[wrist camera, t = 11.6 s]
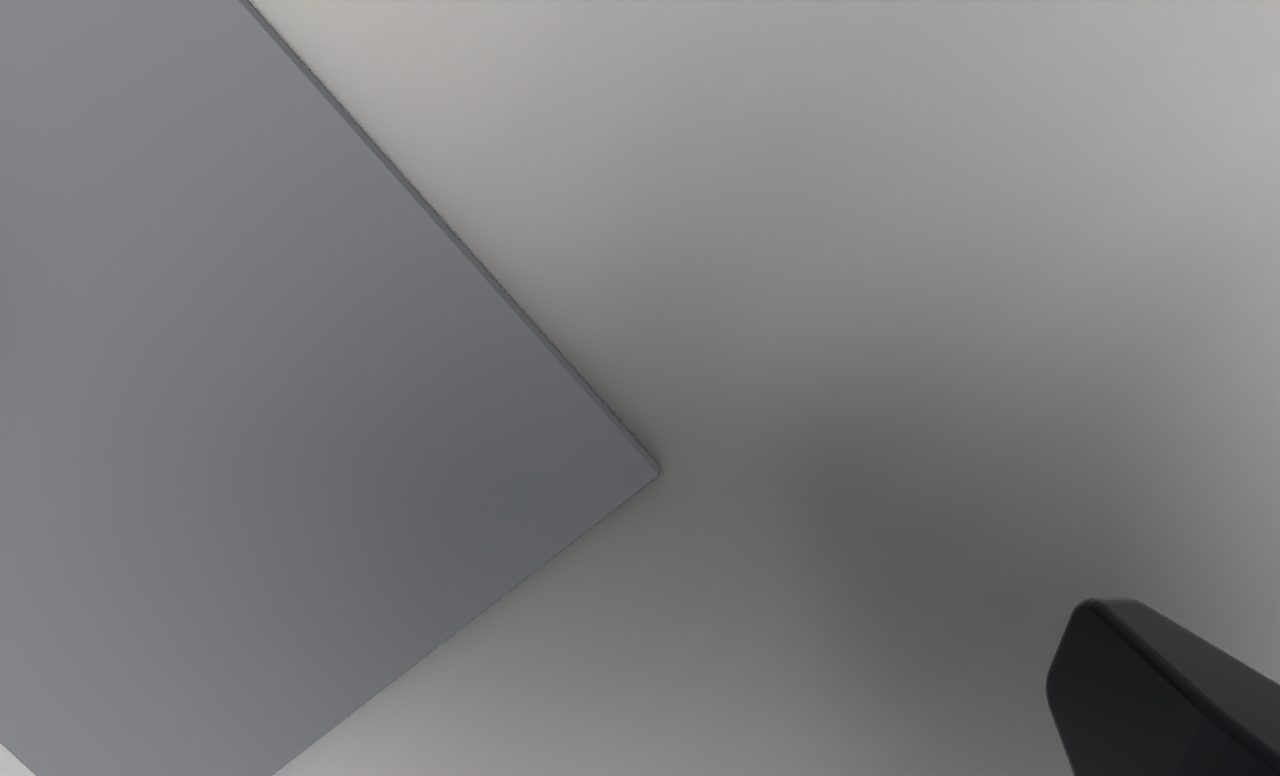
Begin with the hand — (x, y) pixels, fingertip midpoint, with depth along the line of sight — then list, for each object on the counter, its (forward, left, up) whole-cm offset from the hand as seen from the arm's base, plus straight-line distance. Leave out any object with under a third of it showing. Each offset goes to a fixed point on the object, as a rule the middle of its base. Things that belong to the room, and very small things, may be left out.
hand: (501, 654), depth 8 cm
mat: (+8, +8, -10) cm, 15 cm away
